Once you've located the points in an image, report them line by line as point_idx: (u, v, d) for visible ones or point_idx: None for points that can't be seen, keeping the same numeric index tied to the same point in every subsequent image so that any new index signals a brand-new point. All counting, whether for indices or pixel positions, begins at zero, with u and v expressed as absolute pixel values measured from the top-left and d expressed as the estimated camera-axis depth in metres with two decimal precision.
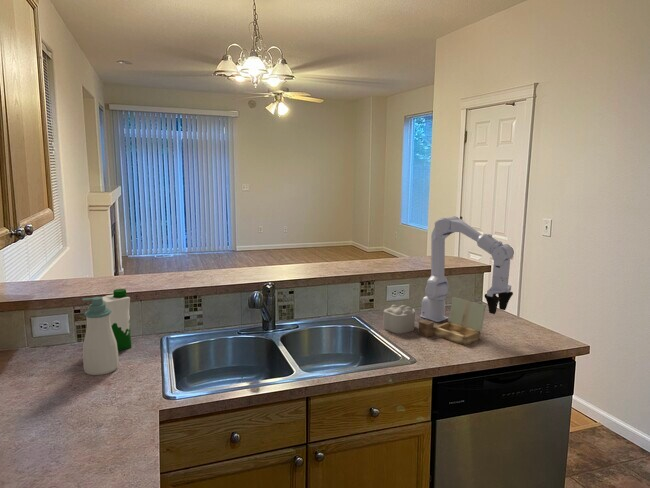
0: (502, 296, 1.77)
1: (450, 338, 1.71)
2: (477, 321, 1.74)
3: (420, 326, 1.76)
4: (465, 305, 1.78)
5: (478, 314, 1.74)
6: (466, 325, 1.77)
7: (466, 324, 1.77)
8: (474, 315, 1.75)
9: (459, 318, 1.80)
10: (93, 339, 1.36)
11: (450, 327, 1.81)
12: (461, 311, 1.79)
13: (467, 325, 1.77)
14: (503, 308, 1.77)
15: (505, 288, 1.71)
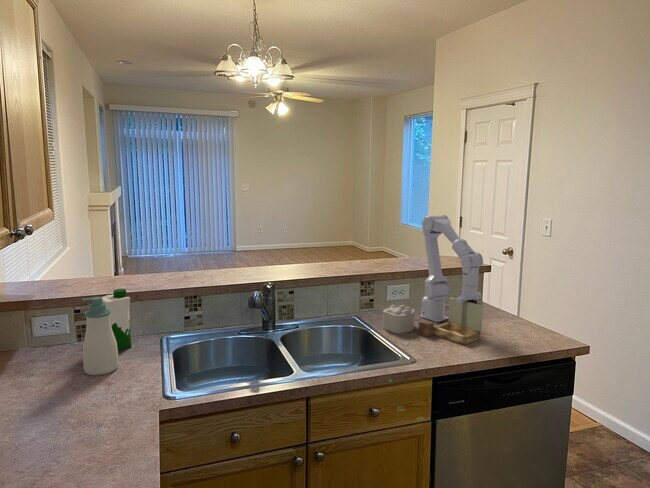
0: None
1: (450, 338, 1.71)
2: (476, 321, 1.74)
3: (421, 326, 1.76)
4: (462, 306, 1.77)
5: (476, 314, 1.73)
6: (466, 325, 1.77)
7: (466, 324, 1.77)
8: (472, 315, 1.74)
9: (458, 318, 1.80)
10: (93, 339, 1.36)
11: (450, 327, 1.81)
12: (459, 311, 1.79)
13: (467, 325, 1.77)
14: None
15: (474, 295, 1.75)
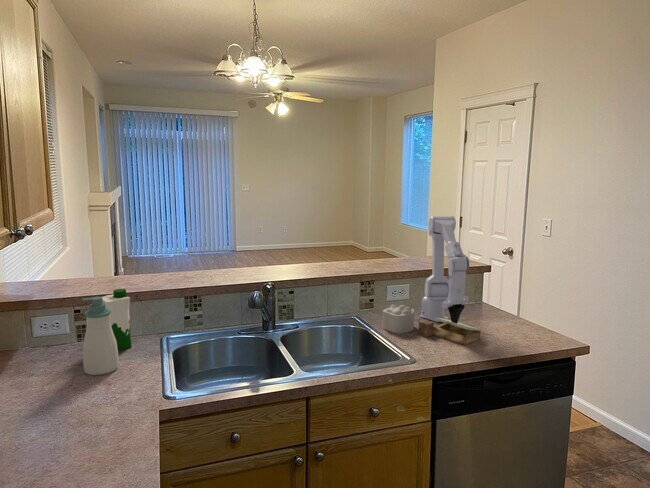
0: None
1: (450, 338, 1.71)
2: None
3: (420, 326, 1.76)
4: None
5: None
6: None
7: None
8: None
9: None
10: (93, 339, 1.36)
11: (450, 327, 1.81)
12: None
13: None
14: (455, 321, 1.73)
15: (461, 300, 1.69)
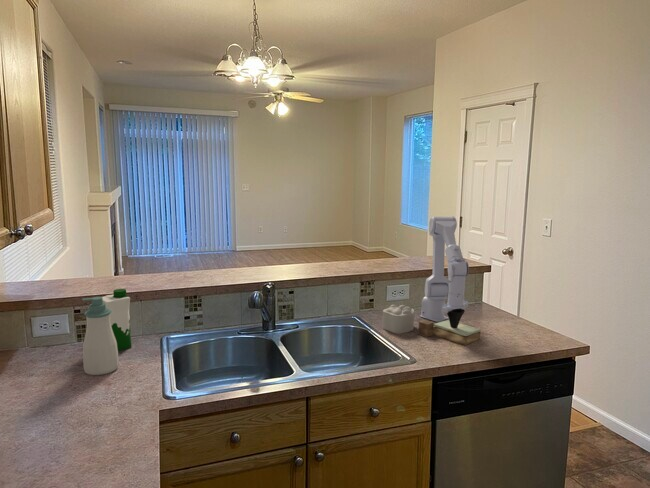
0: (454, 314, 1.73)
1: (450, 338, 1.71)
2: None
3: (420, 326, 1.76)
4: None
5: None
6: None
7: None
8: None
9: None
10: (93, 339, 1.36)
11: None
12: None
13: None
14: None
15: (460, 304, 1.69)
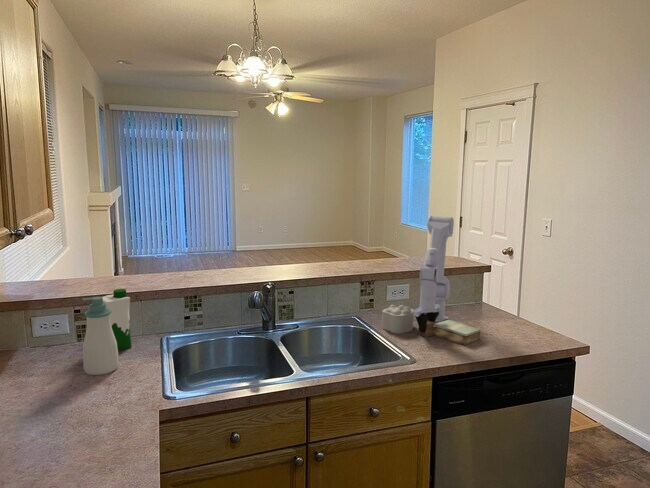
0: (429, 316, 1.78)
1: (450, 338, 1.71)
2: None
3: None
4: None
5: None
6: None
7: None
8: None
9: None
10: (93, 339, 1.36)
11: None
12: None
13: None
14: None
15: (432, 308, 1.73)
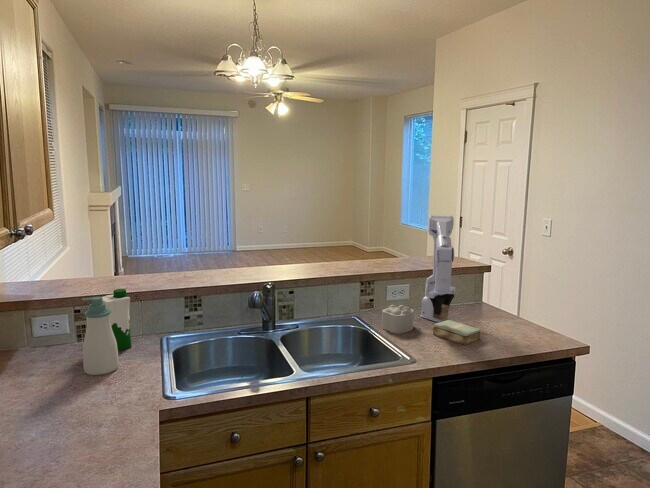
0: (444, 298, 1.76)
1: (450, 338, 1.71)
2: None
3: None
4: None
5: None
6: None
7: None
8: None
9: None
10: (93, 339, 1.36)
11: None
12: None
13: None
14: None
15: (447, 290, 1.71)
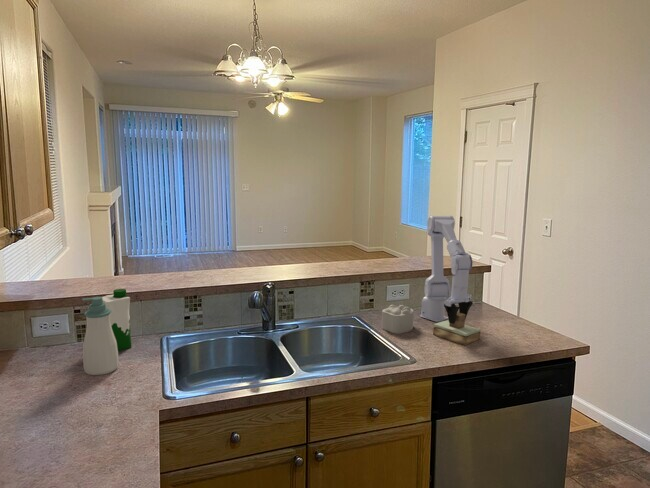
0: (462, 305, 1.76)
1: (450, 338, 1.71)
2: None
3: None
4: None
5: None
6: None
7: None
8: None
9: None
10: (93, 339, 1.36)
11: None
12: None
13: None
14: None
15: (464, 298, 1.70)
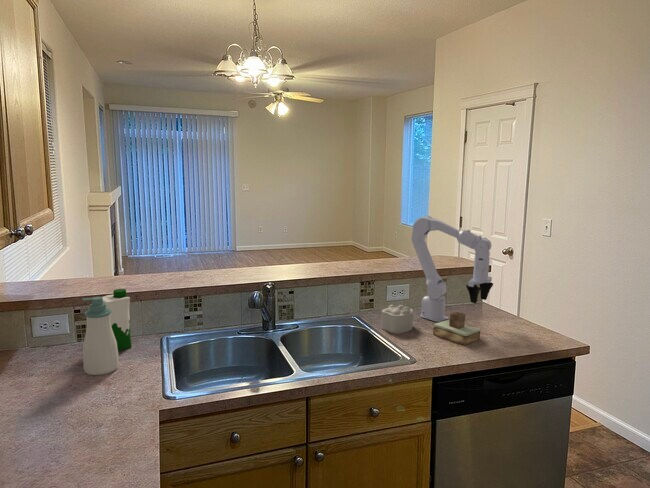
0: (483, 287, 1.89)
1: (450, 338, 1.71)
2: None
3: (452, 317, 1.74)
4: None
5: None
6: None
7: None
8: None
9: None
10: (93, 339, 1.36)
11: None
12: None
13: None
14: (484, 298, 1.89)
15: (485, 279, 1.83)
